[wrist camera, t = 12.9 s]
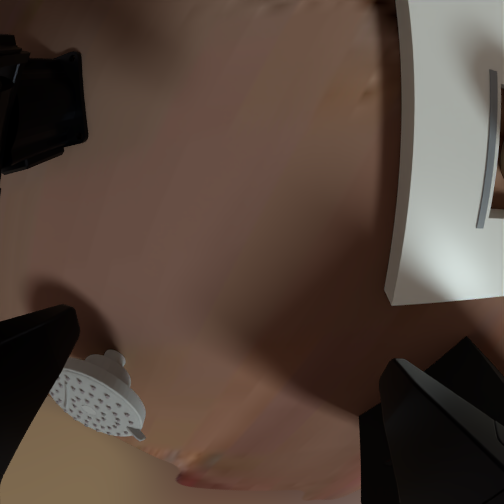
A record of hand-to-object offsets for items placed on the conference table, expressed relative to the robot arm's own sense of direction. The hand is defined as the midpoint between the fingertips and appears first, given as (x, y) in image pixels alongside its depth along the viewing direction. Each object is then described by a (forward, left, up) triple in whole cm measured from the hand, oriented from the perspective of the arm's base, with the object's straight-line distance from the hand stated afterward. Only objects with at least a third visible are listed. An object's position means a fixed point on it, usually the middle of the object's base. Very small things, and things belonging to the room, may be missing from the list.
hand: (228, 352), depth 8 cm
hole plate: (-4, +20, -13) cm, 24 cm away
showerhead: (+15, -14, -13) cm, 24 cm away
